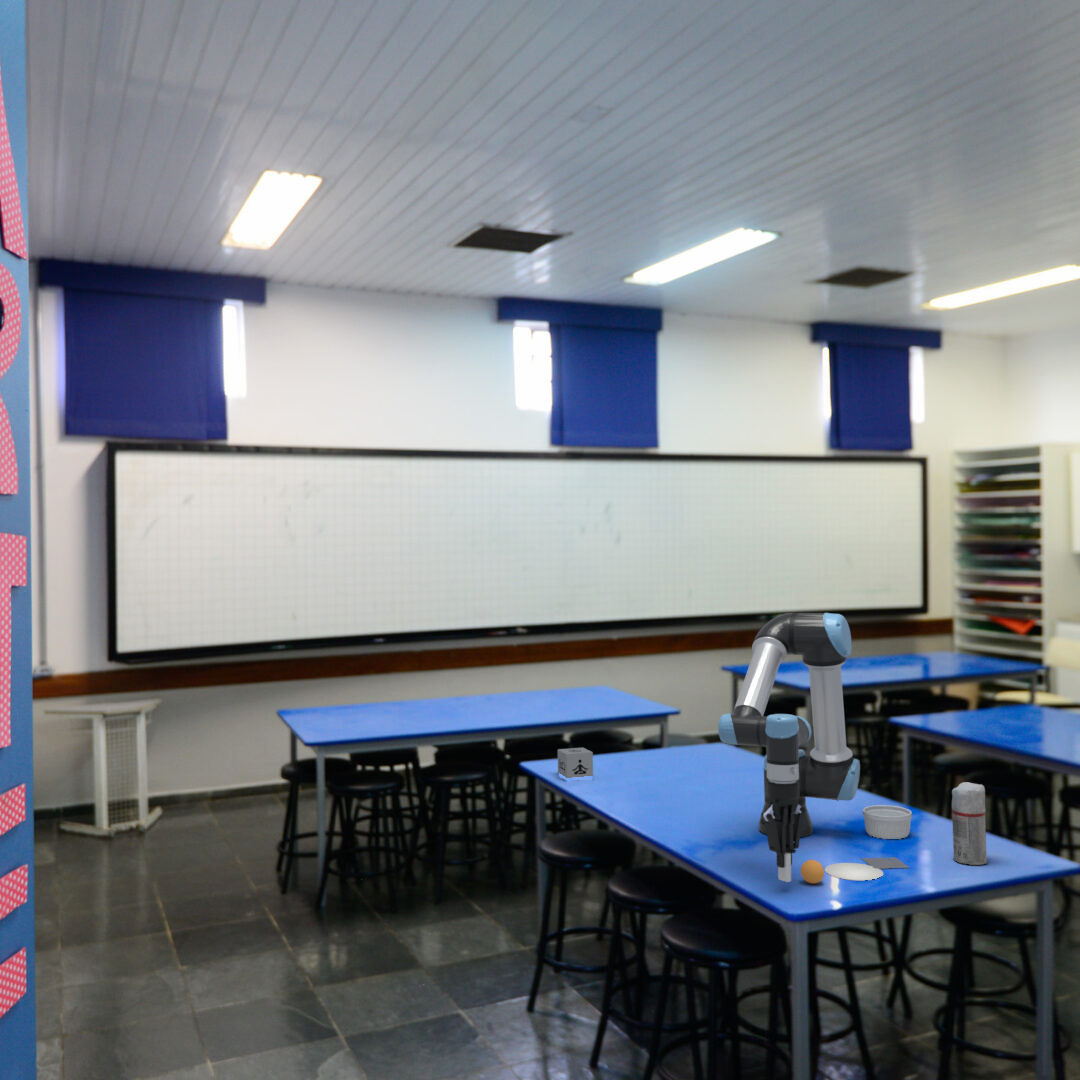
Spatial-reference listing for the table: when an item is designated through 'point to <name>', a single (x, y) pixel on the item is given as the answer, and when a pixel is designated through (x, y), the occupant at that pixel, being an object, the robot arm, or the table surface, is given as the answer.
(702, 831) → the table surface
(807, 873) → the ball
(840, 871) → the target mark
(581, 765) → the icon cube
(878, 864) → the far mark
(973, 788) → the spray can
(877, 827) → the ramekin
